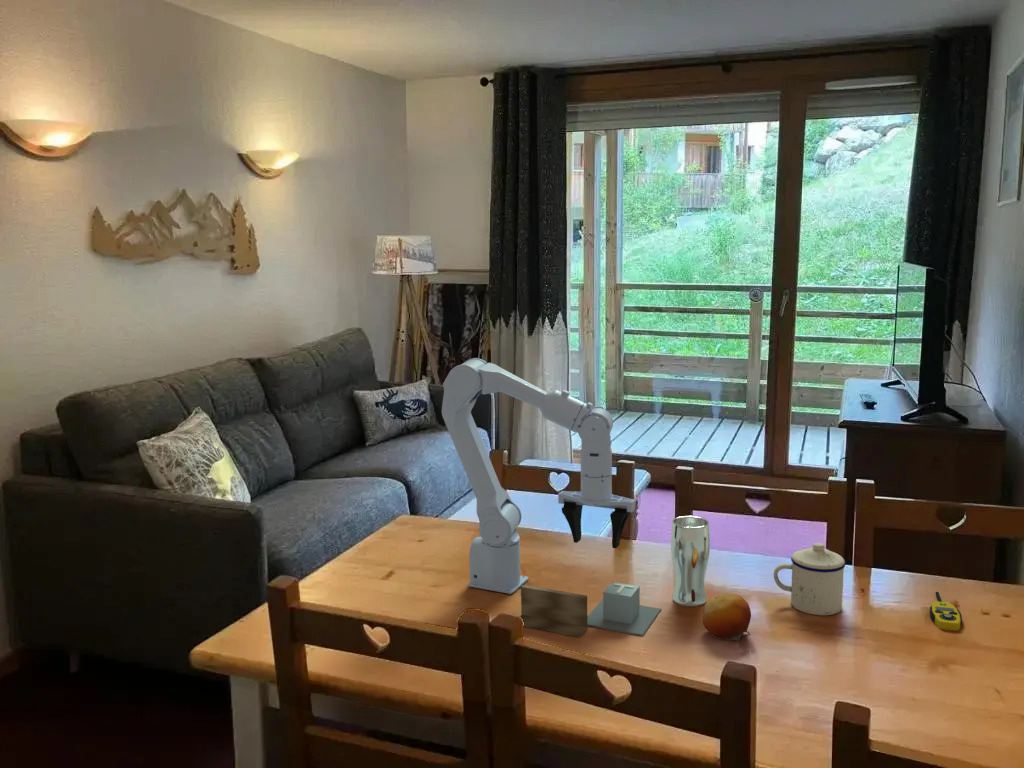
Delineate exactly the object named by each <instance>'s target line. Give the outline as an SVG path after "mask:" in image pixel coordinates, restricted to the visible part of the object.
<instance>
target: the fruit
mask: <svg viewBox="0 0 1024 768" xmlns="http://www.w3.org/2000/svg"><path fill="white" fill-rule="evenodd" d="M706 602H707V603H706V604H705V606H704V609H703V612H702V614H703V615H702V619H701V620H702V625H703V627H704V629H705V630H706V631H707V632H708V633H709V634H710V635H711V636H712V637H714V638H715V639H718V640H722V641H723V640H724V641H726V640H727V641H728V640H729V641H730V640H734V641H738V642H740V638H741V637H742V636H743V634H744V633H747V634H749V635H751V633H750V632H749V631H748V628H749V625H750V623H751V619H752V611H751V607H750V605H749V603H748V601H747V600H746V599H745V598H744V597H743V596H741V595H740V594H737V593H731V592H729V593H728V592H727V593H722V594H719V595H718V596H715V597H714V598H711V599H709V600H708V601H706Z"/></svg>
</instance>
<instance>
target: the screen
mask: <svg viewBox="0 0 1024 768" xmlns="http://www.w3.org/2000/svg"><path fill="white" fill-rule="evenodd" d="M520 598H521V599H520V605H521V606H520V607H521V614H520V615H519V617H521V618H522V619H523V622H524V626H523V627H525V626H526V627H525V628H529V627H531V628H530V629H534V628H535V629H536V630H540V631H541V630H542V631H546V632H549V633H555V634H561V635H566V636H571V637H576V638H581V637H582V636H583V635H584V633H585V632H586V631H587V630H588V626H587V616H588V595H587V594H586V595H585V594H581V593H580V594H579V593H573V592H567V591H562V590H558V589H550V588H544V587H539V586H533V585H527V584H523V585H521V586H520ZM527 626H528V627H527ZM535 629H534V630H535Z"/></svg>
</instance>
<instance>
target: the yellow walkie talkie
mask: <svg viewBox="0 0 1024 768" xmlns="http://www.w3.org/2000/svg"><path fill="white" fill-rule="evenodd" d="M935 596H936V599H937V601H933V602H932V604H931V605H930V607H929V618H930V620H931V621H932V623H934V624H935V626H936V627H938V628H939V629H941V630H946V631H955V632H956V631H959V630H960V629H961V626H962V621H963V617H962V613H961V611H960V610H959V608H958V607H956V606H955V605H953V604H952V603H951V602H947V601H942V598H941V595H940V593H939V591H935Z"/></svg>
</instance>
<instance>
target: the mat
mask: <svg viewBox="0 0 1024 768" xmlns="http://www.w3.org/2000/svg"><path fill="white" fill-rule="evenodd" d="M661 611H662V608H659V607H658V608H657V607H652V606H646V605H641V604H640V613H639V614H638V615H637V617H636V618H635V619H634V621H633V622H632V623H631V624H627V623H622V622H616V621H611V620H605V619H603V598H602V599H601V600H600V602H599V603H598V604H597V605H596V606H595V607H594V608H593V609H592V611H591V612H590V613H589V614H587V627H591V628H597V629H601V630H602V629H603V630H607V631H612V632H617V633H624V634H628V635H634V636H639V637H644V635H645V634H646V632H647V631H648V630H649V628H650V627H651V625H652V624H653V623H652V622H654V621H655V620H656V618H657V617H658V615H660V613H661Z"/></svg>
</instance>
